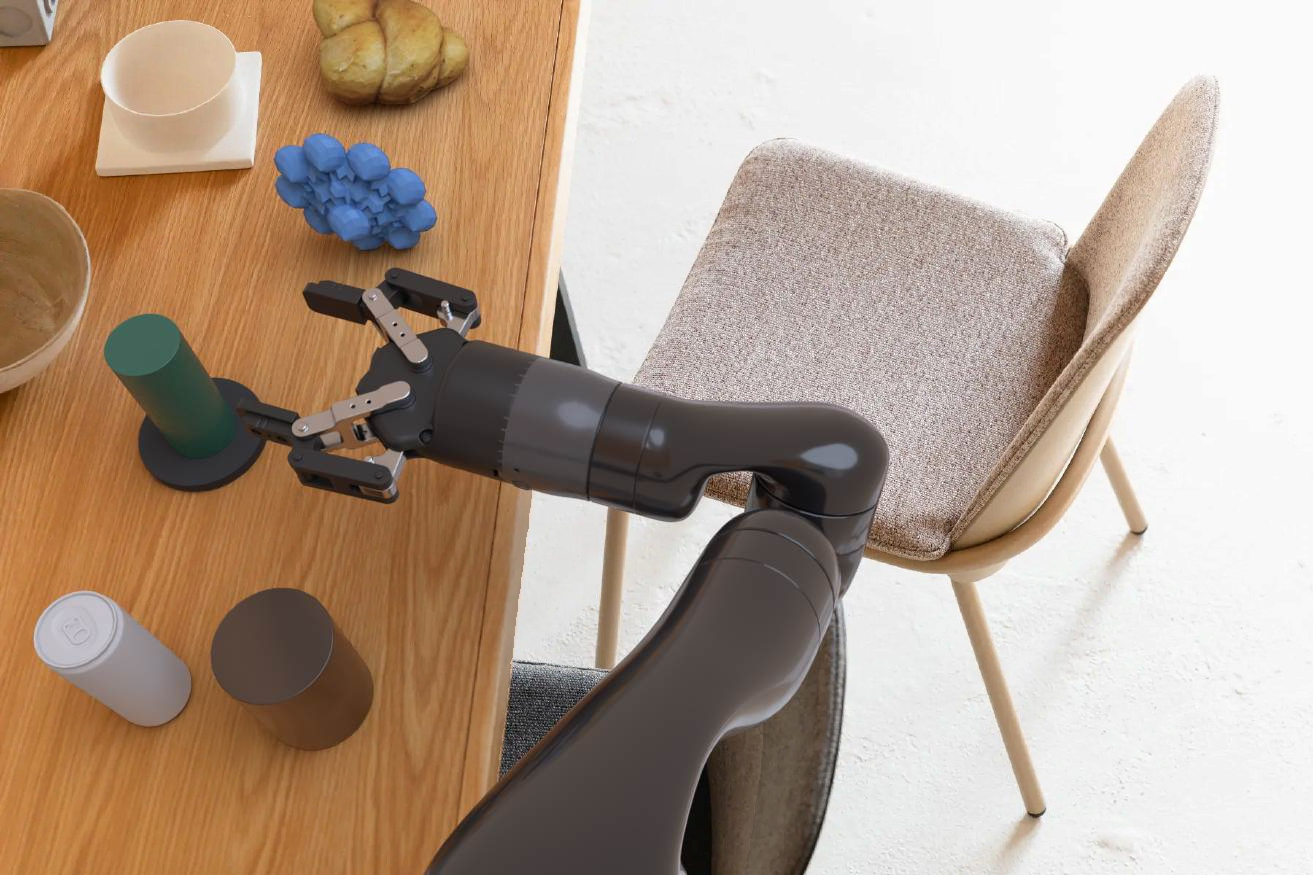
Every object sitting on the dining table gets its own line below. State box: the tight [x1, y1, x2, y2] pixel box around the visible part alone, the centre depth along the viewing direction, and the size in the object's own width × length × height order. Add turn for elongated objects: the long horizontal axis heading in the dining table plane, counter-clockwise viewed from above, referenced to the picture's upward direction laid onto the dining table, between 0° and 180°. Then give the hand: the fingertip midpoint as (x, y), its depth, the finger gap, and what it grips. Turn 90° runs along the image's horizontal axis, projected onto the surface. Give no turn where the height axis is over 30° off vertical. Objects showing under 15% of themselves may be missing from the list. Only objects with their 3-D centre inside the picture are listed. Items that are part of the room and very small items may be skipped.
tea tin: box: [103, 313, 237, 459], centre depth 79 cm, size 5×5×11 cm
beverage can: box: [32, 590, 192, 727], centre depth 70 cm, size 5×5×12 cm
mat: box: [137, 377, 267, 493], centre depth 84 cm, size 9×9×1 cm
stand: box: [210, 587, 374, 752], centre depth 71 cm, size 7×7×10 cm
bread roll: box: [311, 0, 470, 106], centre depth 99 cm, size 13×10×8 cm
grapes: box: [273, 132, 438, 251], centre depth 88 cm, size 12×7×12 cm, turn 86°
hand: (275, 352), depth 69 cm, fingers open, 8 cm apart
